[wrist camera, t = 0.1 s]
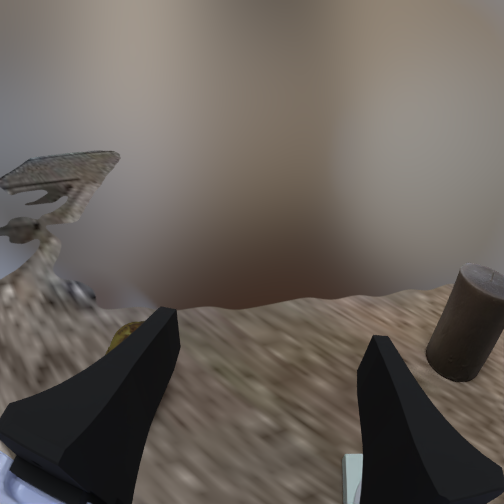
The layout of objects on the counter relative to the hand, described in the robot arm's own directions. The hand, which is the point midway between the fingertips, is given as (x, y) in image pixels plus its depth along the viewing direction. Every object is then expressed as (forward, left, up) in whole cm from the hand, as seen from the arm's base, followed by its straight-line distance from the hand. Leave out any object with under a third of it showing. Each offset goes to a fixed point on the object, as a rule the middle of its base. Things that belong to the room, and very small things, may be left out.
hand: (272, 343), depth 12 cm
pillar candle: (+23, -28, -22) cm, 42 cm away
